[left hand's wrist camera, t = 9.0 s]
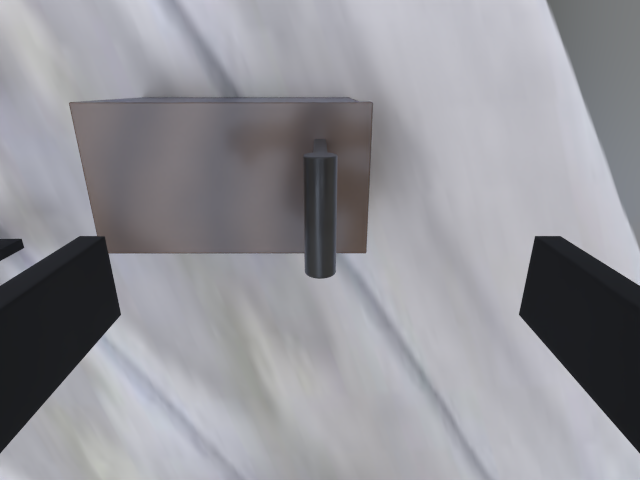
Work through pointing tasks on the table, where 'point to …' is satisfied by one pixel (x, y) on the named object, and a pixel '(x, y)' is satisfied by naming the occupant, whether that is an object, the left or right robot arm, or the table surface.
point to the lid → (229, 177)
